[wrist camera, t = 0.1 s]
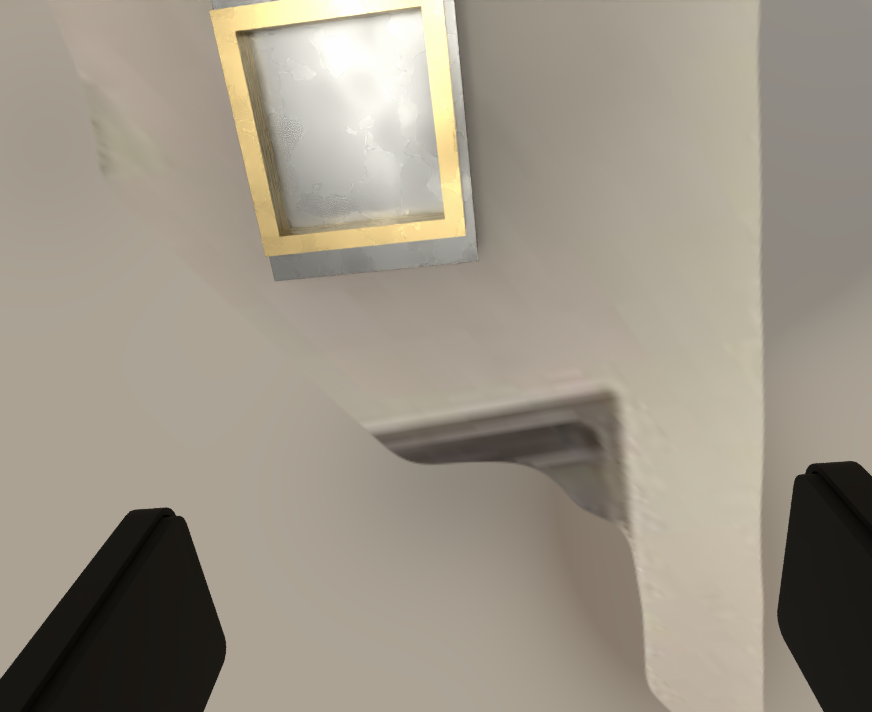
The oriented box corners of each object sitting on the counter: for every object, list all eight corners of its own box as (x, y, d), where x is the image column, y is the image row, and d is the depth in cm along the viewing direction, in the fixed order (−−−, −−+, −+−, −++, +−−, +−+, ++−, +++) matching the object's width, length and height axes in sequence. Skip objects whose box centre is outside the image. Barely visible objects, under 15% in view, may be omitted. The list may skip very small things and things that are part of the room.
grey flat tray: (225, -23, 34) (187, -37, 30) (449, -56, 33) (446, -75, 29) (287, 266, 41) (265, 292, 36) (477, 247, 40) (478, 271, 35)
